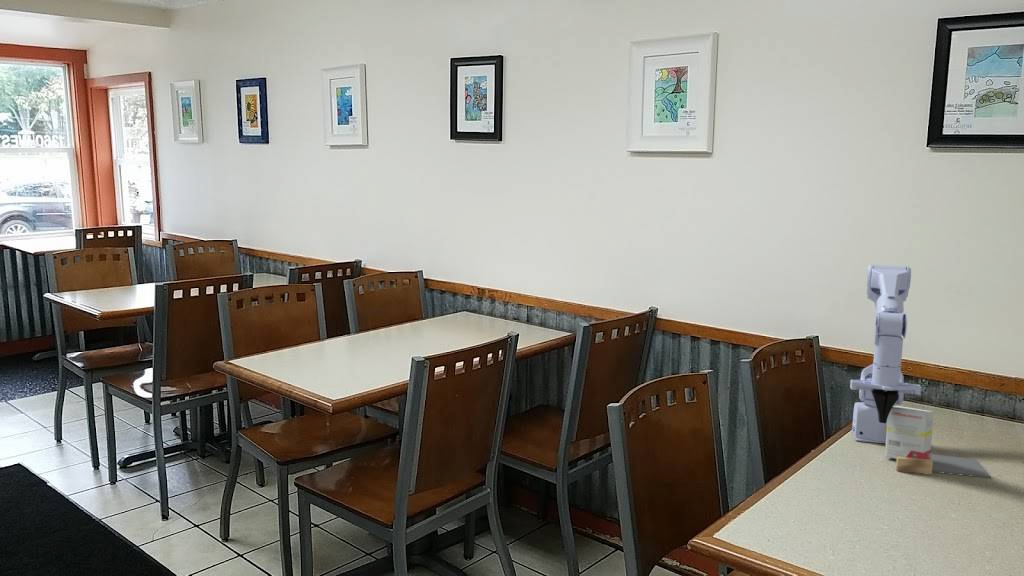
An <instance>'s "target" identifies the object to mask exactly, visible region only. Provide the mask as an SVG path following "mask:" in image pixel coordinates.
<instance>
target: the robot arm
mask: <svg viewBox="0 0 1024 576" xmlns="http://www.w3.org/2000/svg"><path fill="white" fill-rule="evenodd" d="M866 274H867V275H866V295H867V299H868V300H870V301H872V302H873V303H874V306H875V312H876V313H875V315H874V320H873V321H874V322H873V334H874V335H873V336H874V339H873V341H874V348H873V349H874V350H873V361H872V362H873V363H872V364H870V365H868V366H866V367H865V368H863V369H862V371H861V374H860V379H850V382H849V384H850V385H849V387H850V390H851V391H852V390H853V391H856V390H859V391H858V394H859V396H858V398H859V400H860V401H861V402H859V401H857V402H854V404H853V405H854V407H853V411H852V412H853V414H852V426H851V433H852V435H853V437H854V439H855V441H857V442H866V443H877V444H885V445H886V434H887V418H888V415H889V413H890V411H891V409H892V407H893V406H901V404H903V402H904V397H905V396H904V394H914V395H917V396H921V395H922V394H921V393H922V386H921V385H920V384H915V383H909V382H904V381H905V380H904V379H905V378H904V375H903V373H902V357H903V347H904V346H903V345H904V339H906V337H907V330H908V316H907V312H905V311H904V310H905V309H904V308H905V307H904V302H906V301H907V298H908V296H909V291H910V287H911V282H912V281H911V280H912V268H911V267H910V266H909V265H906V266H905V265H904V266H902V265H901V266H900V265H884V264H883V265H882V264H873V263H870V264H869V265H868V267H867V273H866Z"/></svg>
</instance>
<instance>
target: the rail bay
mask: <svg viewBox="0 0 1024 576" xmlns="http://www.w3.org/2000/svg"><path fill="white" fill-rule="evenodd" d="M884 448H885V451H886V444H885V446H884ZM895 463H896V465H895V470H896V471H897V472H900V471H902V473H910V472H915V473H914V474H920V473H927V474H926V475H929V474H933V472H932V466H933V461H932V460H928V459H918V458H908V457H898V456H897V459H896V462H895Z"/></svg>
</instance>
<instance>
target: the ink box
mask: <svg viewBox="0 0 1024 576" xmlns="http://www.w3.org/2000/svg"><path fill="white" fill-rule="evenodd" d="M933 420H934V411H932V410H926V409H919V408H913V407H907V406H902V405H897V406H893V407H892V409H891V411H890V413H889V415H888V418H887V434H886V444H885V445H886V450H885V454H884V455H885V456H884V457H885V458H890V459H894V460H897V456H898V457H908V458H918V459H928V460H930V455H931V454H932V453H931V451H932V450H931V449H932V439H933V438H932V436H933V422H934V421H933Z"/></svg>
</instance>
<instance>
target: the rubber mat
mask: <svg viewBox="0 0 1024 576" xmlns="http://www.w3.org/2000/svg"><path fill="white" fill-rule="evenodd" d="M930 460H932V461H933V466H932V471H934V472H933V473H936V472H944V473H943V474H945V473H952V474H951V475H955V474H962V475H961V476H965V475H972V476H971V477H975V476H978V477H977V478H985V477H986V478H985V479H987V478H988V479H991V477H992V476H991V475H990V473H989V472H988V471H987V470H986V469H985V467H984V466H983V465H982V464H981V463H980V461H978V459H977V458H972V457H964V456H963V457H961V456H952V455H943V454H940V455H939V454H932V453H931V455H930Z"/></svg>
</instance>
